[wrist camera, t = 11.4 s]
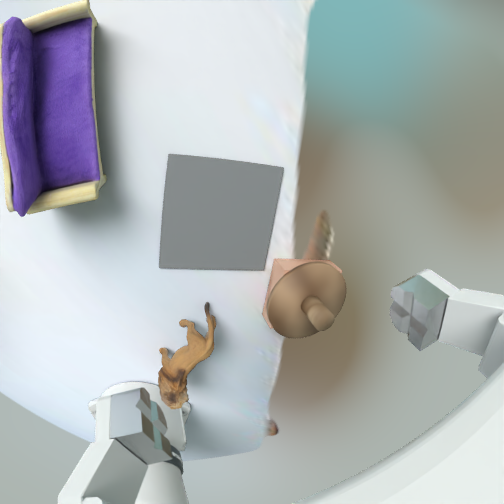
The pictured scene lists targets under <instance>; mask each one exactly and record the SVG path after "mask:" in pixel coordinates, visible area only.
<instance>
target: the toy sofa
mask: <svg viewBox="0 0 504 504" xmlns="http://www.w3.org/2000/svg"><path fill="white" fill-rule="evenodd" d="M95 27H97V20H96V18H95V17H94V15H93V13H92V11H91V9H90V3H89V0H82V1H78V2H75V3H71V4H68V5H64V6H61V7H58V8H55V9H52V10H49V11H46V12H43V13H40V14H37V15H34V16H32V17H29V18H27V19H24V20H21V19H19V18H17V17H11V18H10V19H9V20H7V21H6V22H4V23H2V24H0V147H1V155H2V162H3V170H4V181H5V198H6V205H7V209H8V210H9V211H10V212H13V211H17V212H18V214H19V215H20V216H22V217H23V216H25V214H26V213H27V214H33V213H37V212H41V211H45V210H50V209H54V208H59V207H63V206H68V205H72V204H77V203H82V202H87V201H92V200H96V199H98V196H99V189H100V188H101V187H102V186H103V184H104V183H105V182H106V180H107V178H106V174H103V170H102V163H101V156H100V148H99V140H98V131H97V119H96V106H95V88H94V29H95Z"/></svg>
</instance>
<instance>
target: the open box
mask: <svg viewBox="0 0 504 504" xmlns="http://www.w3.org/2000/svg"><path fill="white" fill-rule="evenodd" d="M308 262H324V263H327V264H330V265H332V266H333V267H334V268H335V269H337V270H338V271H339V272H340V273H342V270H341V269H340V268H338V267H337V266H336V265H335V264H333V263H332V262H331V261H330V260H305V259H274V262H273V267H272V272H271V276H270V281H269V285H268V290H267V295H266V299H265V304H264V308H263V313H262V315H263V317H264V318H265V320H266V322H267V324H268V325H269V327H270V329H271V328H273V327H272V325H271V323H270V322H269V320H268V317H267V309H266V308H267V301H268V298H269V295H270V293H271V291H272V289H273V287H274V286H275V284H276V283H277V282H278V281H279V279H280V278H281V277H283V276H284V275H285V274H286V273H287V272H288V271H290V270H292V269H293V268H295V267H297V266H299V265H301V264H304V263H308Z"/></svg>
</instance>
